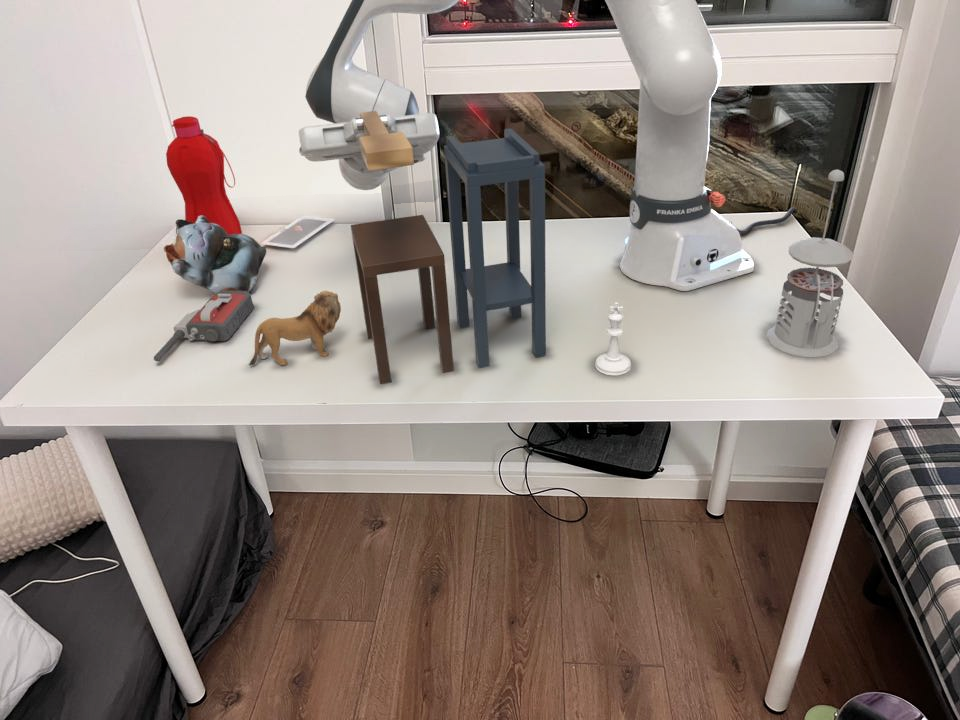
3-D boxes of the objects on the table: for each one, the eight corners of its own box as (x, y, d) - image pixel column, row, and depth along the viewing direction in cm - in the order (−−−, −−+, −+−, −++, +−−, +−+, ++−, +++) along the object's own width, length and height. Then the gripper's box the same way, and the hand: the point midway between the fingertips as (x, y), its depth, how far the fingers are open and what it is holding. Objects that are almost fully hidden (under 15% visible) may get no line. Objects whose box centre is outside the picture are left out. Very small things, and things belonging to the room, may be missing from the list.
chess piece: (630, 377, 103) (634, 312, 98) (593, 374, 104) (596, 310, 99) (631, 357, 107) (635, 295, 102) (596, 355, 108) (598, 293, 103)
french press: (831, 323, 112) (869, 157, 99) (849, 366, 103) (894, 189, 89) (762, 320, 114) (790, 157, 100) (773, 362, 104) (806, 188, 91)
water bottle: (243, 255, 144) (211, 123, 131) (186, 258, 144) (149, 126, 131) (256, 236, 152) (227, 109, 138) (202, 238, 152) (168, 112, 139)
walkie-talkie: (210, 303, 128) (151, 367, 111) (204, 279, 126) (142, 341, 109) (259, 304, 127) (207, 369, 110) (253, 280, 124) (199, 343, 108)
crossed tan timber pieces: (388, 122, 108) (387, 106, 107) (414, 165, 92) (412, 147, 90) (349, 126, 107) (347, 111, 106) (368, 170, 90) (365, 152, 89)
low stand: (433, 322, 119) (423, 214, 109) (453, 371, 107) (444, 254, 97) (367, 334, 117) (350, 224, 107) (380, 384, 105) (362, 266, 95)
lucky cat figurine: (247, 303, 127) (187, 244, 119) (199, 320, 133) (138, 264, 124) (278, 244, 136) (224, 186, 128) (232, 262, 142) (177, 207, 134)
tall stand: (518, 313, 120) (513, 127, 104) (545, 356, 109) (545, 155, 93) (457, 323, 118) (443, 136, 102) (478, 368, 107) (466, 166, 91)
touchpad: (336, 224, 155) (334, 214, 154) (294, 253, 144) (292, 243, 143) (304, 220, 158) (302, 210, 157) (260, 248, 146) (258, 238, 145)
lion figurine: (341, 334, 117) (332, 282, 112) (352, 349, 113) (343, 296, 108) (246, 360, 112) (232, 307, 107) (253, 377, 108) (240, 323, 103)
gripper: (296, 134, 115) (291, 107, 102) (427, 119, 119) (439, 91, 106) (303, 176, 116) (299, 153, 102) (434, 159, 119) (447, 136, 106)
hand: (372, 121), depth 104 cm, fingers closed on crossed tan timber pieces, 2 cm apart
